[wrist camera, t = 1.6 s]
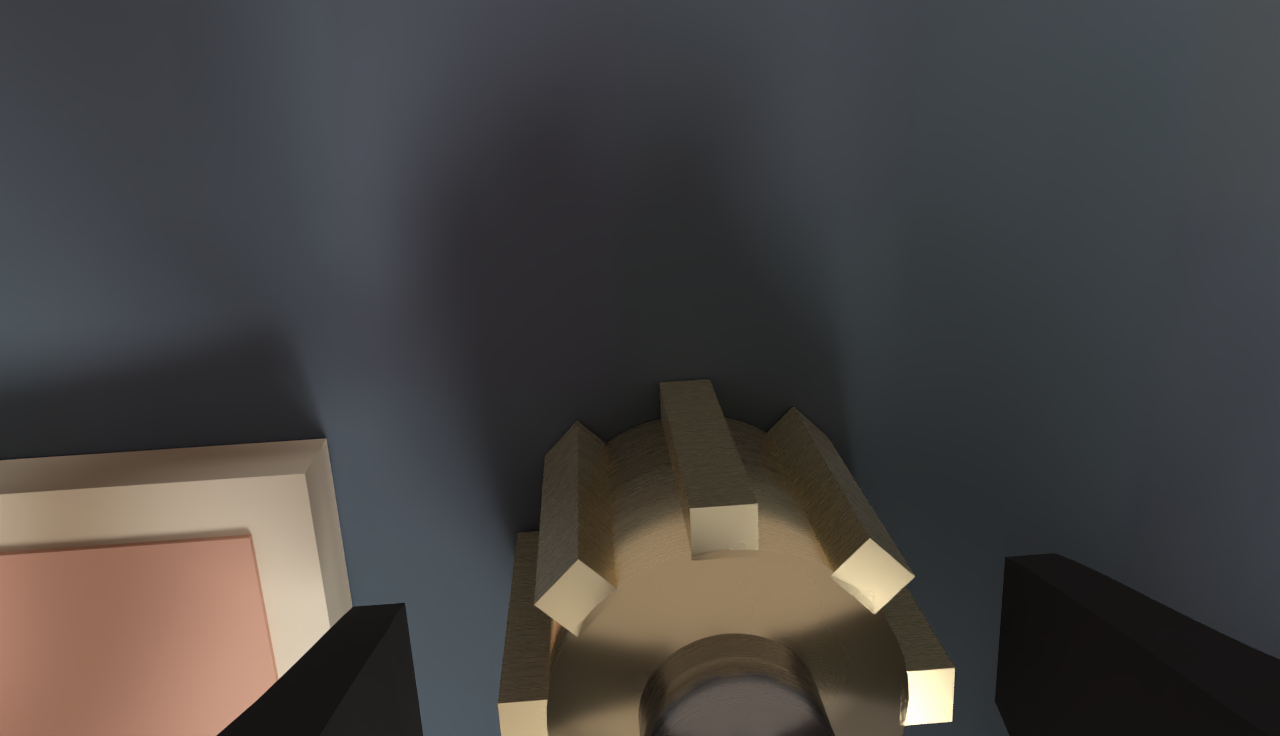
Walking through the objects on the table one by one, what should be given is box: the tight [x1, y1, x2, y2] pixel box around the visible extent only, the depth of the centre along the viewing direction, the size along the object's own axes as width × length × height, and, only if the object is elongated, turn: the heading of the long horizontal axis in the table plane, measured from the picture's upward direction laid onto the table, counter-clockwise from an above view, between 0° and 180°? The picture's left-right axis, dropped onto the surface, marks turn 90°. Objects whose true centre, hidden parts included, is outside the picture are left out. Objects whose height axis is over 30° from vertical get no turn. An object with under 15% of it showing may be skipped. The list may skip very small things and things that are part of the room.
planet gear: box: [498, 379, 955, 736], centre depth 13 cm, size 5×5×5 cm
